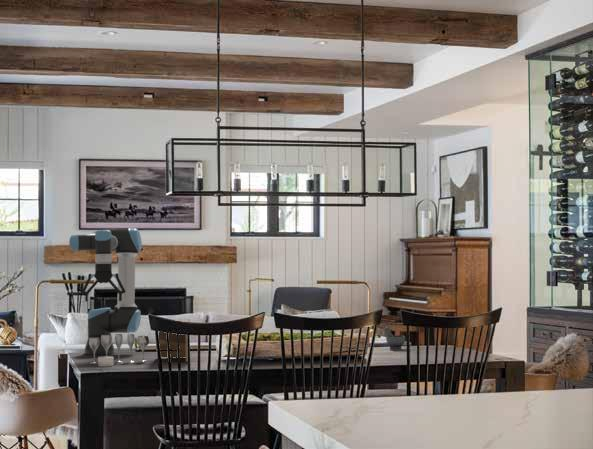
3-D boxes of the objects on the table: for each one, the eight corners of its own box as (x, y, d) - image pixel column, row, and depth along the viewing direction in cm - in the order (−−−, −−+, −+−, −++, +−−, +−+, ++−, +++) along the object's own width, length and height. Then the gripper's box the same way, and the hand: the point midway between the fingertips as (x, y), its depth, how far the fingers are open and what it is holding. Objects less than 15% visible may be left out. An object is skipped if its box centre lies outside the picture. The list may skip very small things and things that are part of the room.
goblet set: (89, 363, 447) (89, 335, 448) (89, 362, 453) (89, 334, 453) (149, 361, 454) (149, 333, 454) (148, 360, 459) (148, 332, 460)
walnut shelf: (156, 358, 465) (156, 319, 465) (189, 358, 466) (189, 319, 467) (154, 363, 445) (154, 322, 446) (188, 363, 446) (188, 322, 447)
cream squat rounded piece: (98, 365, 443) (98, 356, 443) (114, 364, 444) (114, 356, 444) (97, 366, 436) (97, 358, 436) (112, 366, 437) (112, 357, 437)
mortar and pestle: (404, 348, 504) (403, 325, 505) (406, 350, 495) (405, 327, 495) (382, 348, 504) (382, 325, 505) (384, 350, 495) (384, 327, 495)
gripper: (75, 263, 443) (75, 309, 443) (130, 263, 446) (130, 308, 446) (77, 263, 451) (77, 308, 450) (130, 262, 454) (131, 307, 453)
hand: (103, 308), depth 448 cm, fingers open, 13 cm apart
